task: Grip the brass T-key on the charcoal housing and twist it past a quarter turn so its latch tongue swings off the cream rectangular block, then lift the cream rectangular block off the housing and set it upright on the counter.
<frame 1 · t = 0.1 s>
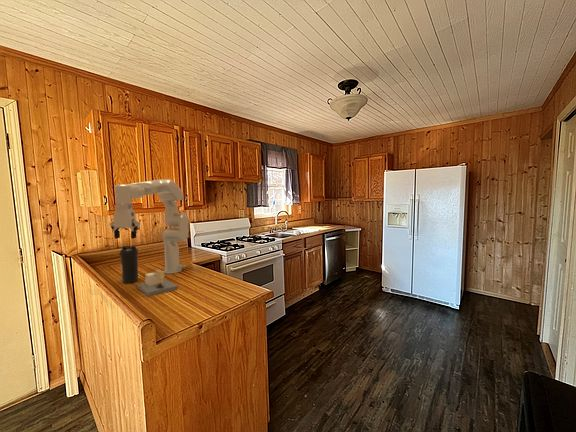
hand: (125, 238, 141), 31 cm above the countertop, tool pointing down, fingers open, 9 cm apart
water bottle: (130, 281, 165), on the countertop
cream rectangular block: (154, 283, 154), point 2 cm above the countertop, touching housing
key: (158, 277, 149), point 7 cm above the countertop, hinge at 0.0°
housing: (157, 288, 151), on the countertop
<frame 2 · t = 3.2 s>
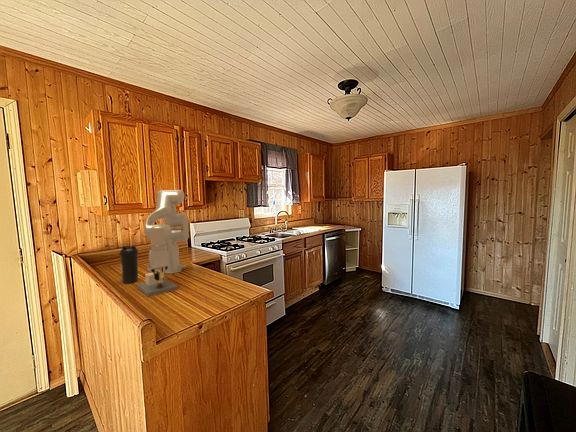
hand: (159, 279, 147), 7 cm above the countertop, tool pointing down, fingers closed on key, 2 cm apart
key: (158, 277, 149), point 7 cm above the countertop, hinge at 0.0°, touching gripper
everything else where it was.
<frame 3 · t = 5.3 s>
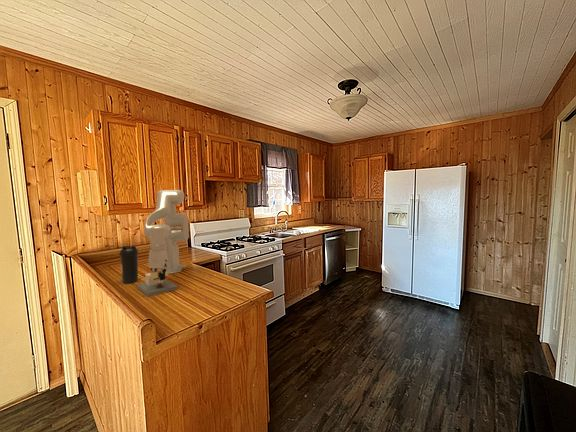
hand: (159, 279, 147), 7 cm above the countertop, tool pointing down, fingers closed on key, 4 cm apart
key: (155, 279, 145), point 7 cm above the countertop, hinge at 95.7°, touching gripper
everything else where it was.
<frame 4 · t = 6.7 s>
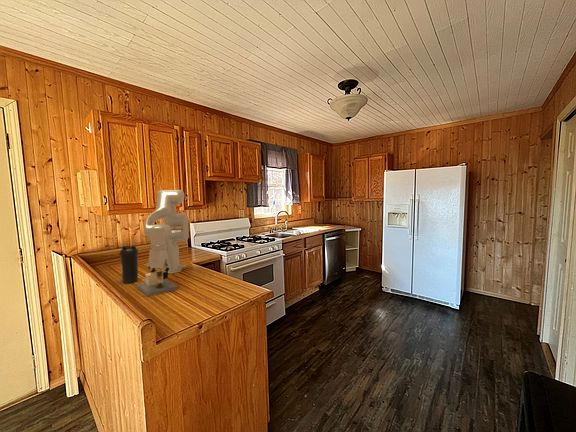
hand: (159, 277, 147), 7 cm above the countertop, tool pointing down, fingers open, 7 cm apart
key: (155, 279, 145), point 7 cm above the countertop, hinge at 106.0°
everything else where it was.
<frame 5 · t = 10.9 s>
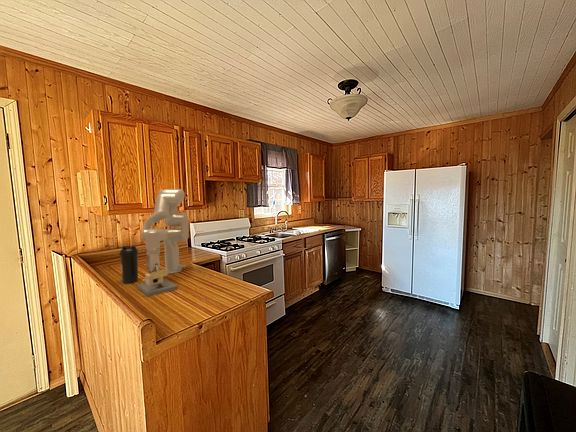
hand: (154, 280, 154), 4 cm above the countertop, tool pointing down, fingers closed on cream rectangular block, 6 cm apart
cream rectangular block: (154, 283, 154), point 2 cm above the countertop, touching gripper, housing
key: (155, 279, 145), point 7 cm above the countertop, hinge at 106.7°
everything else where it was.
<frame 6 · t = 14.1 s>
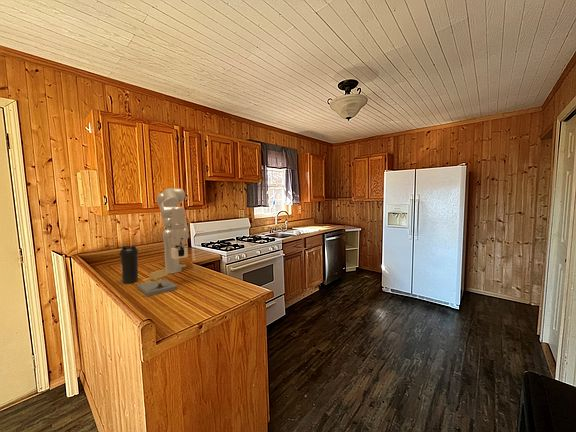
hand: (179, 254, 161), 17 cm above the countertop, tool pointing down, fingers closed on cream rectangular block, 6 cm apart
cream rectangular block: (179, 257, 161), point 16 cm above the countertop, touching gripper
everything else where it was.
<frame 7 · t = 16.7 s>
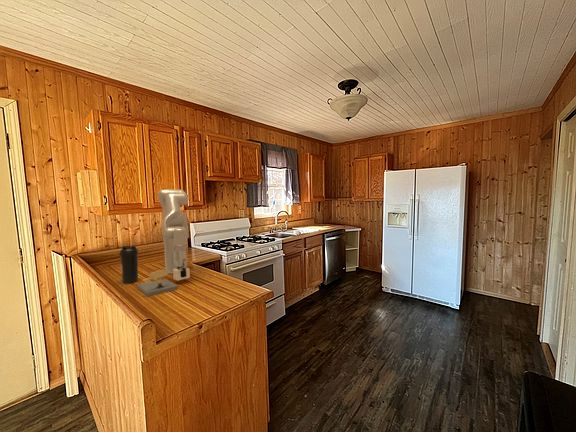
hand: (181, 275, 162), 4 cm above the countertop, tool pointing down, fingers closed on cream rectangular block, 6 cm apart
cream rectangular block: (181, 278, 162), point 3 cm above the countertop, touching gripper
everything else where it was.
when the fingers open (4 cm above the countertop, at t = 17.3 s): cream rectangular block drops 2 cm, on the countertop.
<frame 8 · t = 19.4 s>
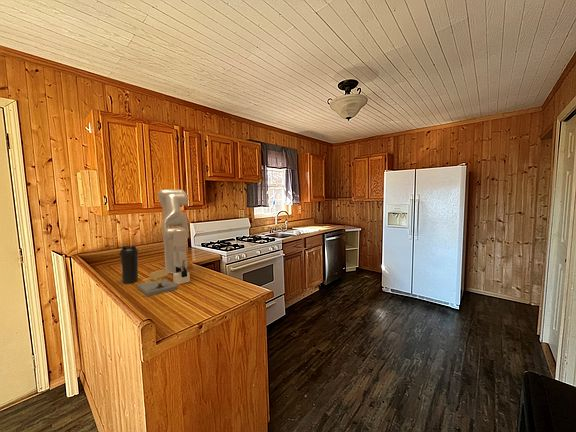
hand: (181, 275, 162), 4 cm above the countertop, tool pointing down, fingers open, 9 cm apart
cream rectangular block: (181, 282, 163), on the countertop
everything else where it was.
at the end: key at +107° (first picture: +0°); cream rectangular block inside the target area (0.1 cm from its centre), on the countertop; cream rectangular block tilted 0° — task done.
